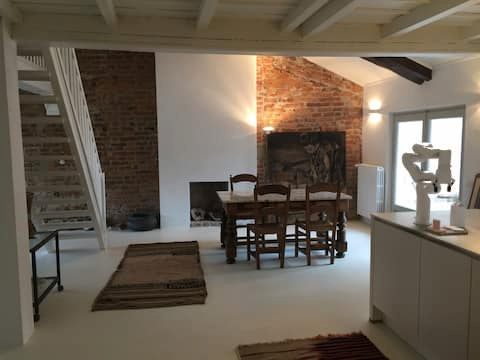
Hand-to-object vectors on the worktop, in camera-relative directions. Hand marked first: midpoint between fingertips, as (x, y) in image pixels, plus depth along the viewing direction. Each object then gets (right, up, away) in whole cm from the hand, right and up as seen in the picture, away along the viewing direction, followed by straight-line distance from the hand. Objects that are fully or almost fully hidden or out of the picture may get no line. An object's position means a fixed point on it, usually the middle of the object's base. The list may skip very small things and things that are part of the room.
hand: (442, 192), depth 278 cm
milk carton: (+18, -26, +14) cm, 34 cm away
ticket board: (+1, -27, -3) cm, 27 cm away
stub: (-6, -26, -4) cm, 27 cm away
